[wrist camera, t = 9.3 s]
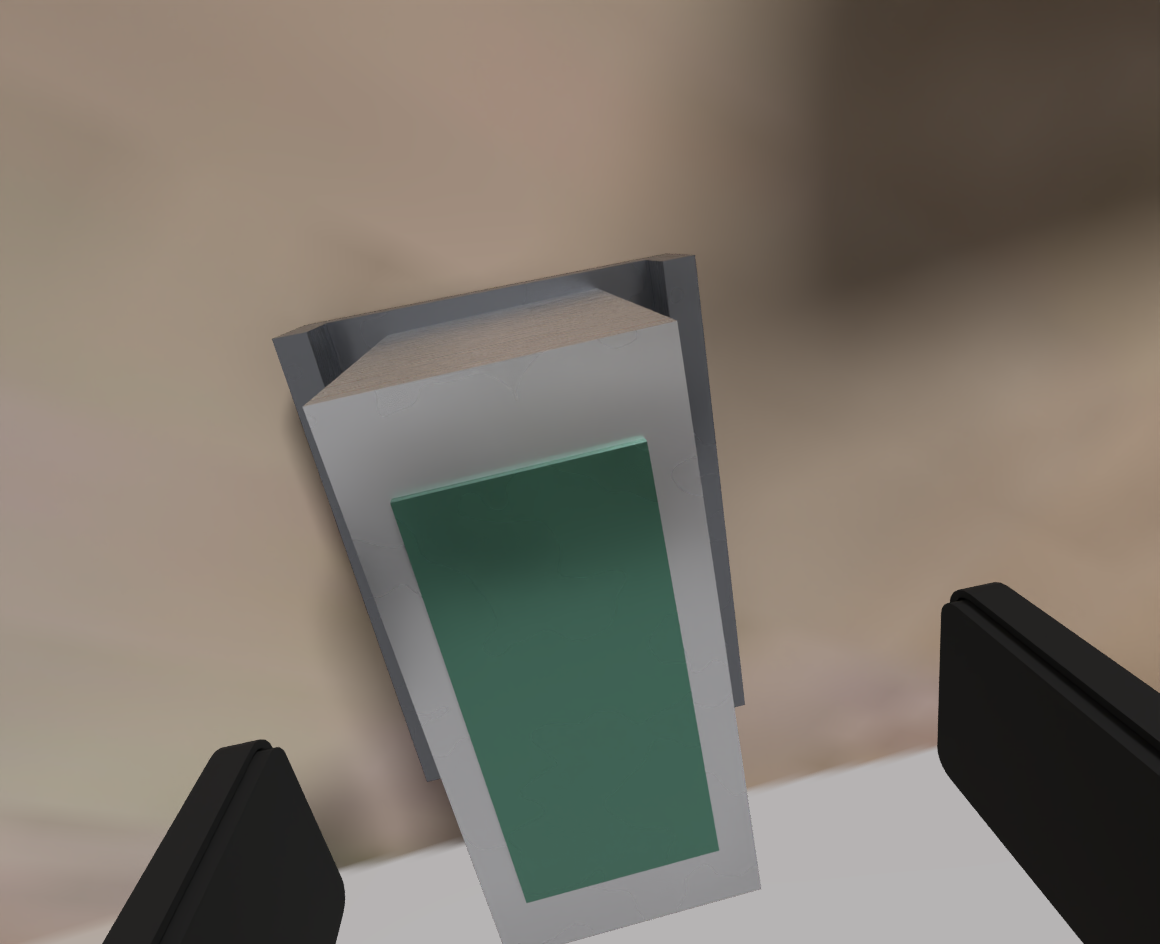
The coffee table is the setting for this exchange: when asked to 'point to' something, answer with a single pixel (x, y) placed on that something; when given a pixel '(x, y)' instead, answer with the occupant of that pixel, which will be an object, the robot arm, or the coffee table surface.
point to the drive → (552, 604)
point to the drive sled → (646, 282)
